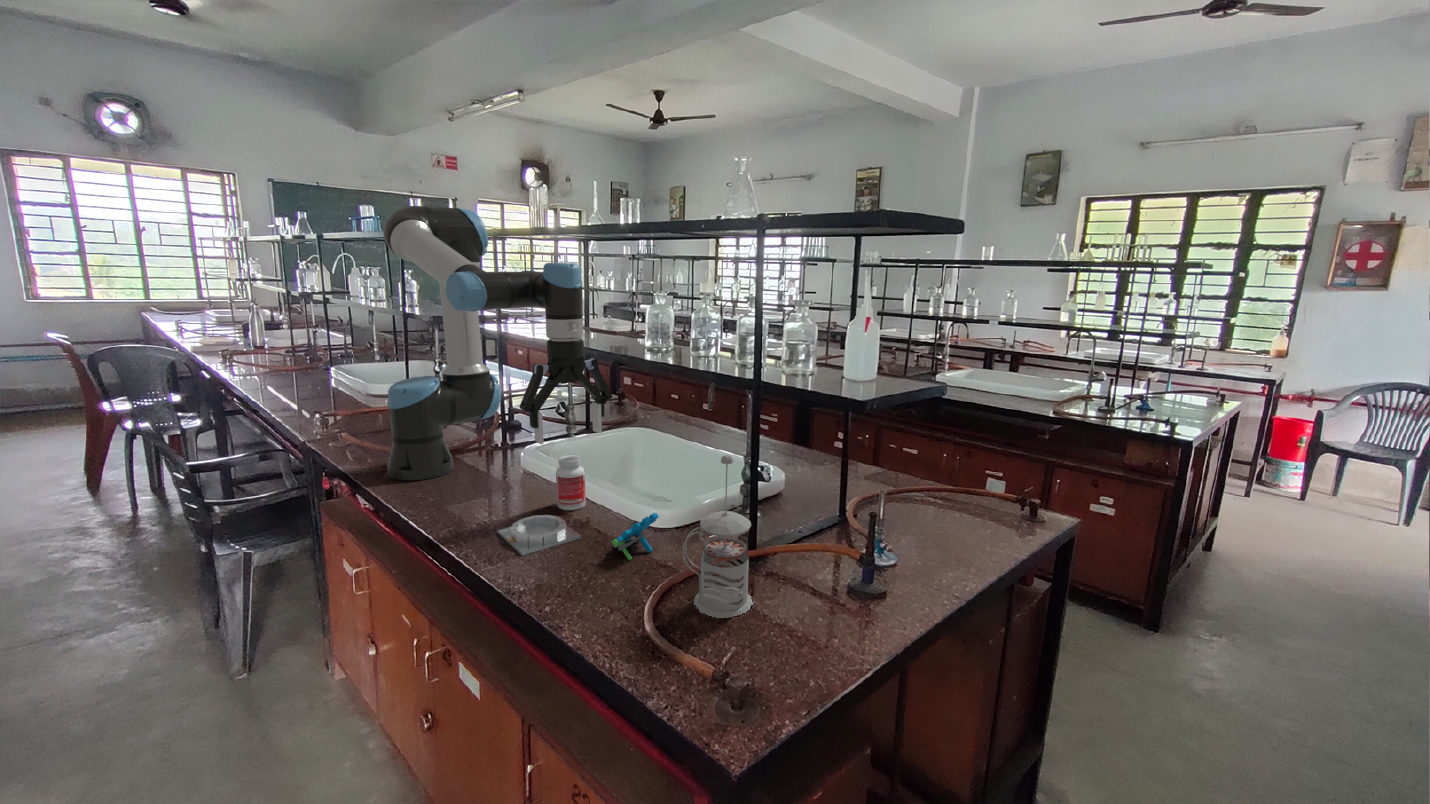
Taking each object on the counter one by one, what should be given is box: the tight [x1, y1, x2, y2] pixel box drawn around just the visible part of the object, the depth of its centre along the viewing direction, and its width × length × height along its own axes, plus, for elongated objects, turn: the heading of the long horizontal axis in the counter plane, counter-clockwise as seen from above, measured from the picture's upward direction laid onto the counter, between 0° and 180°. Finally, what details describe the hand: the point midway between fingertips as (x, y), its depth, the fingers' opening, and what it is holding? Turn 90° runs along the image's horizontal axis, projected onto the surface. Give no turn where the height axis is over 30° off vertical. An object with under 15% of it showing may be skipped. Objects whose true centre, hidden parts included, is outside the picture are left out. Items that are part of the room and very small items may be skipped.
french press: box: [682, 454, 754, 619], centre depth 99 cm, size 10×12×25 cm
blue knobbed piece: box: [610, 512, 660, 561], centre depth 118 cm, size 11×6×10 cm
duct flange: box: [497, 514, 582, 557], centre depth 123 cm, size 12×12×2 cm
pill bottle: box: [555, 454, 586, 511], centre depth 137 cm, size 6×6×11 cm
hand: (569, 437), depth 135 cm, fingers open, 13 cm apart
